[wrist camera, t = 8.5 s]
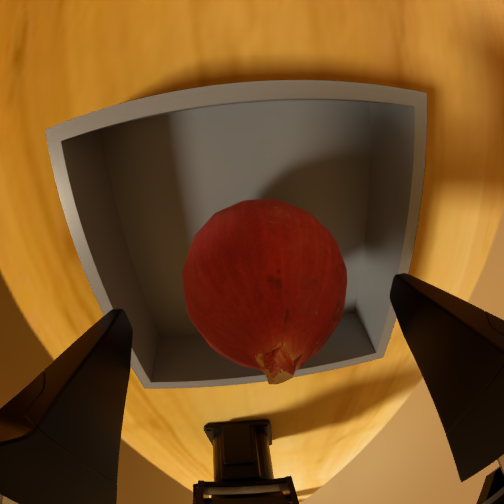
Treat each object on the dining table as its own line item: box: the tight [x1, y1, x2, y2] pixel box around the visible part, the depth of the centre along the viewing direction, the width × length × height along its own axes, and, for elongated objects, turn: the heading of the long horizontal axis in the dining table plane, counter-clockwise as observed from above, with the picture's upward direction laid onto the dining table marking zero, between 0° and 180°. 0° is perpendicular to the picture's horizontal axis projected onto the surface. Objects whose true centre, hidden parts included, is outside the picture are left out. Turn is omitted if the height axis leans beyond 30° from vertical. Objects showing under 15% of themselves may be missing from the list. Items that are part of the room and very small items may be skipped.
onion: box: [182, 199, 347, 384], centre depth 10 cm, size 6×6×8 cm
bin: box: [45, 80, 427, 389], centre depth 12 cm, size 13×13×4 cm
